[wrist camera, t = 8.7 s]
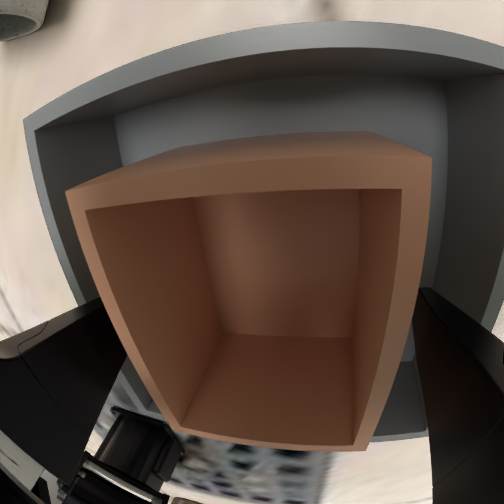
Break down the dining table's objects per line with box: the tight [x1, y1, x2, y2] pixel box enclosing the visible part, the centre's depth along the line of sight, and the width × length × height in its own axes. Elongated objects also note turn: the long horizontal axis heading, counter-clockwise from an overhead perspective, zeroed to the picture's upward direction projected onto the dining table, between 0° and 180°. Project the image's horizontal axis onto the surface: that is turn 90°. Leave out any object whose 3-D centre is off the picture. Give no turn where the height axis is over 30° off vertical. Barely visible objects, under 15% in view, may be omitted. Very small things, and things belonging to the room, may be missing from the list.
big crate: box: [23, 21, 504, 442], centre depth 10 cm, size 14×14×5 cm
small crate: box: [65, 131, 432, 451], centre depth 9 cm, size 7×9×6 cm
